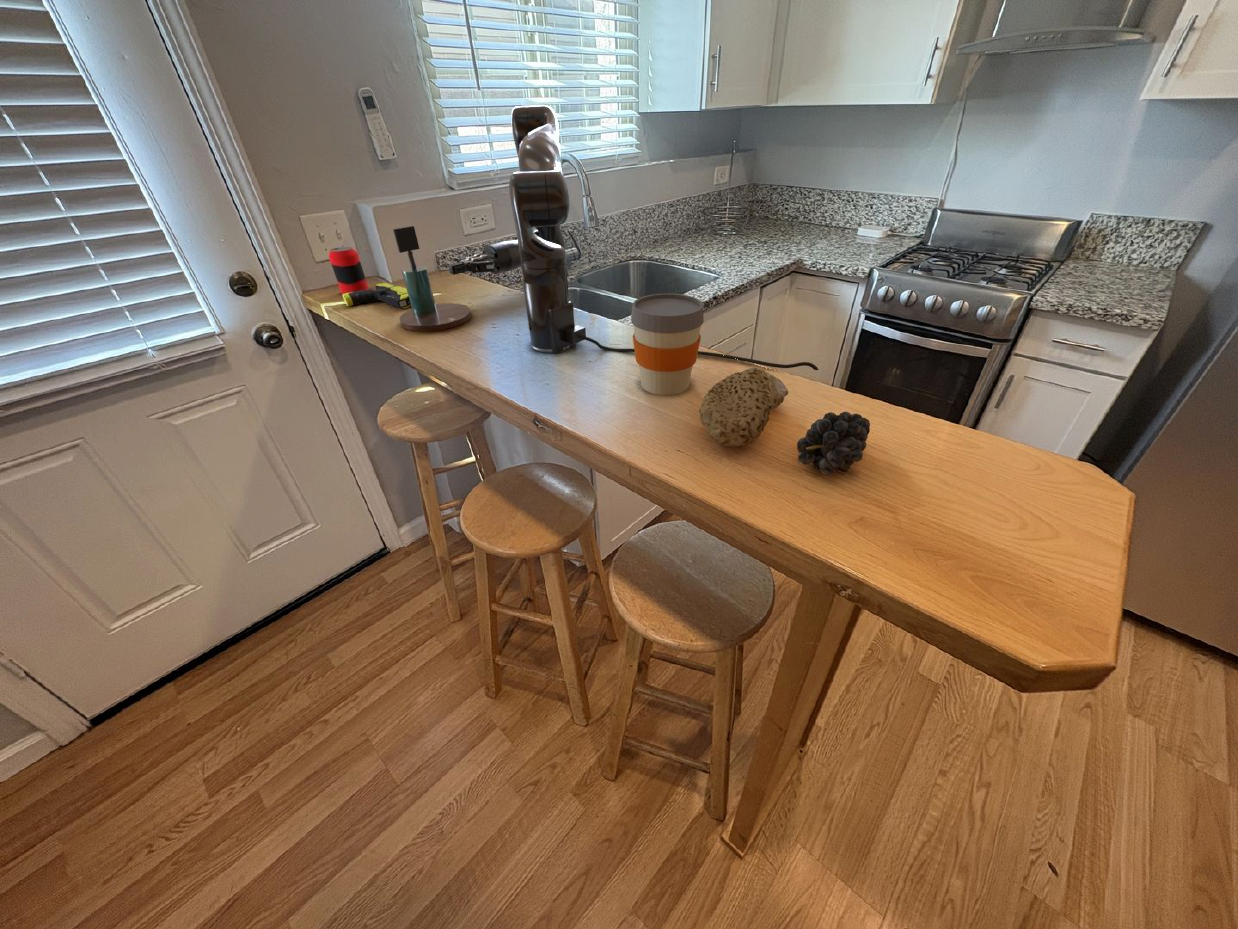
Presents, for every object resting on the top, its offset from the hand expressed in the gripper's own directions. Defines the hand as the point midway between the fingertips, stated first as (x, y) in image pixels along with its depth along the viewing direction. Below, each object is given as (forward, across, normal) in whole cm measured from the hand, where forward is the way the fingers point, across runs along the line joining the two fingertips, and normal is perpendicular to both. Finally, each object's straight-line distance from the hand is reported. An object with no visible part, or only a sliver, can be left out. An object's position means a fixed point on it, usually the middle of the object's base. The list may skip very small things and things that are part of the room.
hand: (450, 270), depth 125 cm
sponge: (+6, +88, +10) cm, 89 cm away
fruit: (+6, +104, +10) cm, 105 cm away
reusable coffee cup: (+2, +70, +10) cm, 71 cm away
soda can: (+10, -38, +10) cm, 41 cm away
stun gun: (+11, -21, +10) cm, 26 cm away
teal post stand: (+9, +4, +10) cm, 14 cm away
